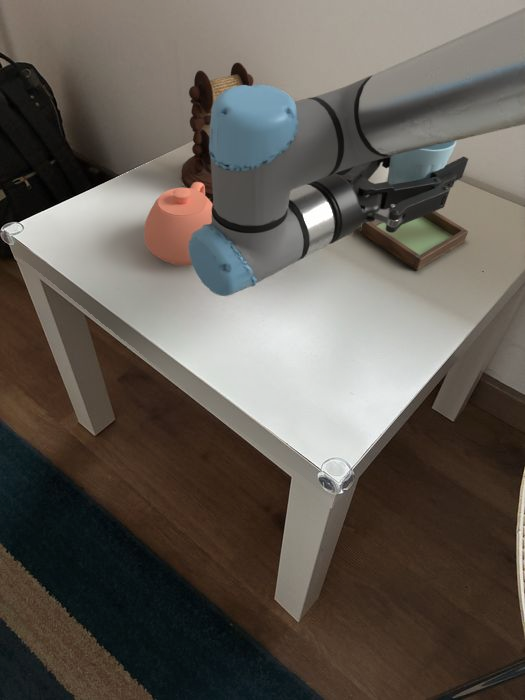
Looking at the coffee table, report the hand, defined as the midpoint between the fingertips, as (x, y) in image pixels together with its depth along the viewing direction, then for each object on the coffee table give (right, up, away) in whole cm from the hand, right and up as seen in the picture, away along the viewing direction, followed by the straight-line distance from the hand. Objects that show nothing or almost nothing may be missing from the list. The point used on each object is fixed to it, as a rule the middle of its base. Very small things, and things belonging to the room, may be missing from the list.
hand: (439, 155), depth 72 cm
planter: (-7, +4, +27) cm, 29 cm away
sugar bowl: (-35, -9, +14) cm, 39 cm away
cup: (-4, -6, +2) cm, 8 cm away
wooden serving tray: (+1, -7, +18) cm, 19 cm away
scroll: (-31, +4, +26) cm, 40 cm away
